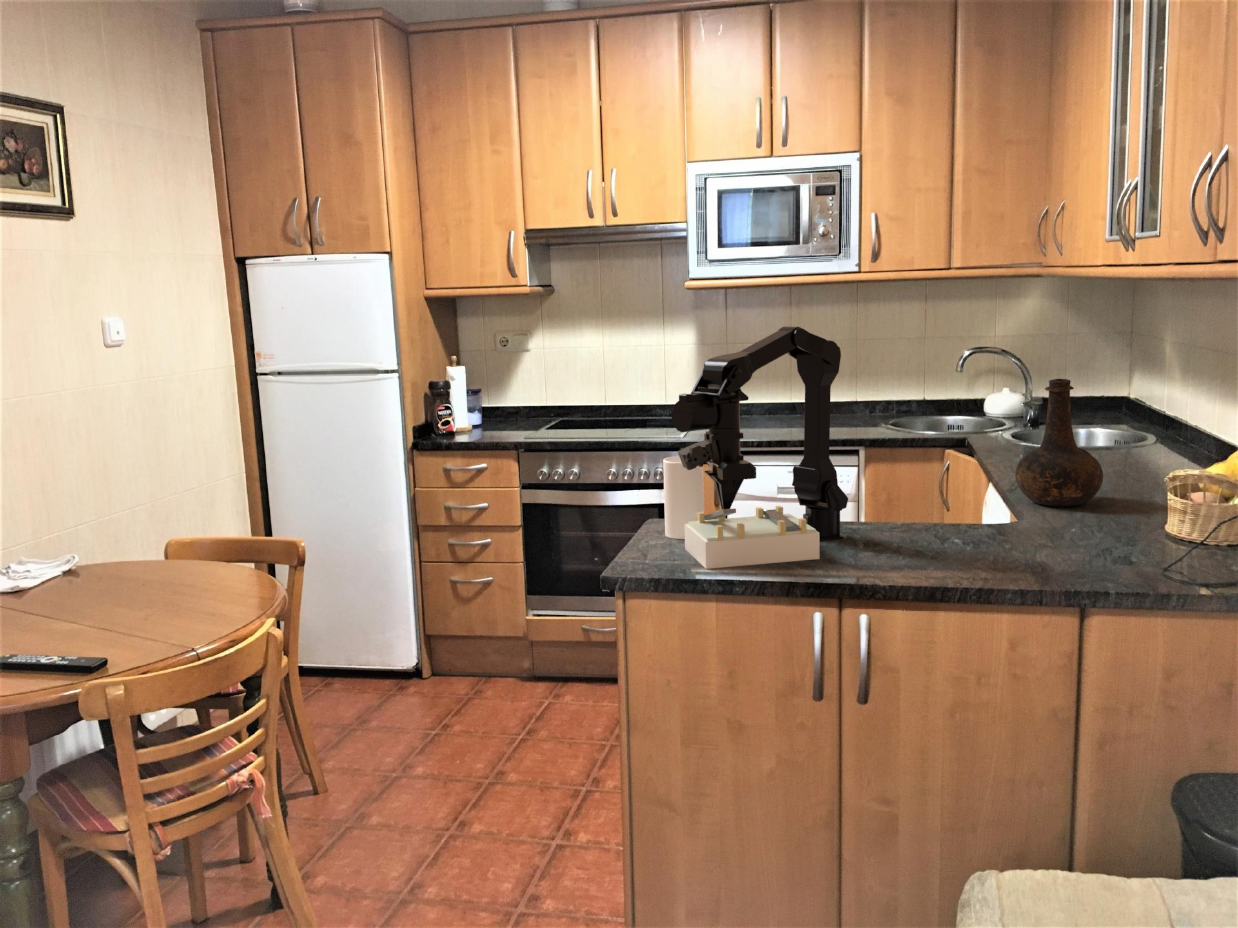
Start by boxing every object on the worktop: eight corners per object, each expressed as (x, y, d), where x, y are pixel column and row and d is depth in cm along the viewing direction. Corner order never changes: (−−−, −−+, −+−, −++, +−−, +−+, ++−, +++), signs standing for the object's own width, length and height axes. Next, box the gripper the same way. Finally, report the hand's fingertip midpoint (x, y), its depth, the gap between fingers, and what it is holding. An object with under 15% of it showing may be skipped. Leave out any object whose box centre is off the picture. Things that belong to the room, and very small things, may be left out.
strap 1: (704, 520, 199) (704, 515, 199) (716, 519, 199) (716, 514, 199) (723, 514, 186) (723, 508, 186) (736, 513, 186) (735, 507, 186)
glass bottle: (1119, 506, 224) (1126, 379, 219) (1056, 515, 218) (1062, 385, 213) (1057, 492, 240) (1062, 374, 236) (997, 500, 234) (1001, 379, 229)
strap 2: (762, 514, 201) (762, 509, 201) (774, 513, 202) (774, 508, 202) (786, 531, 188) (786, 526, 188) (799, 530, 189) (799, 525, 189)
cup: (672, 540, 207) (670, 463, 204) (660, 531, 215) (658, 457, 212) (710, 536, 209) (708, 460, 206) (696, 528, 217) (695, 454, 214)
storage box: (790, 539, 204) (790, 503, 203) (819, 558, 190) (819, 519, 189) (685, 548, 200) (684, 511, 199) (706, 568, 186) (705, 528, 185)
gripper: (669, 423, 194) (671, 503, 196) (695, 435, 176) (697, 523, 178) (725, 420, 196) (726, 499, 198) (756, 432, 178) (757, 519, 180)
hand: (725, 510), depth 189 cm, fingers closed
